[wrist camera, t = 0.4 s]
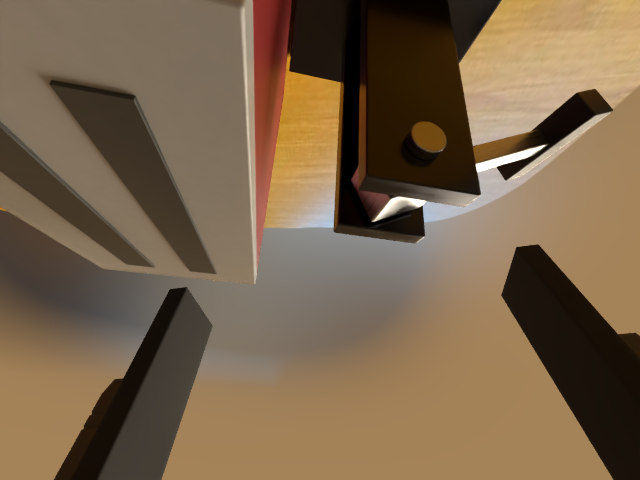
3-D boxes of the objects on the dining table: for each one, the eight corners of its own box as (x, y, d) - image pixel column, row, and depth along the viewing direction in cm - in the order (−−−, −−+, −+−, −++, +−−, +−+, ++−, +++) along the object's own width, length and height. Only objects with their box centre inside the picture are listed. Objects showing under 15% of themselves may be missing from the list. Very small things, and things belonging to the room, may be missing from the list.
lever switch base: (525, -60, 15) (618, 178, 10) (431, 89, 23) (451, 263, 18) (311, -128, 13) (271, 112, 8) (291, 57, 22) (264, 239, 16)
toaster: (32, -397, 9) (-757, -229, 3) (347, -272, 10) (317, 28, 4) (172, 73, 23) (101, 270, 17) (295, 98, 25) (271, 288, 19)
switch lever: (589, 80, 15) (621, 118, 14) (504, 152, 20) (525, 182, 19) (379, 121, 11) (409, 175, 10) (341, 197, 16) (359, 236, 15)
